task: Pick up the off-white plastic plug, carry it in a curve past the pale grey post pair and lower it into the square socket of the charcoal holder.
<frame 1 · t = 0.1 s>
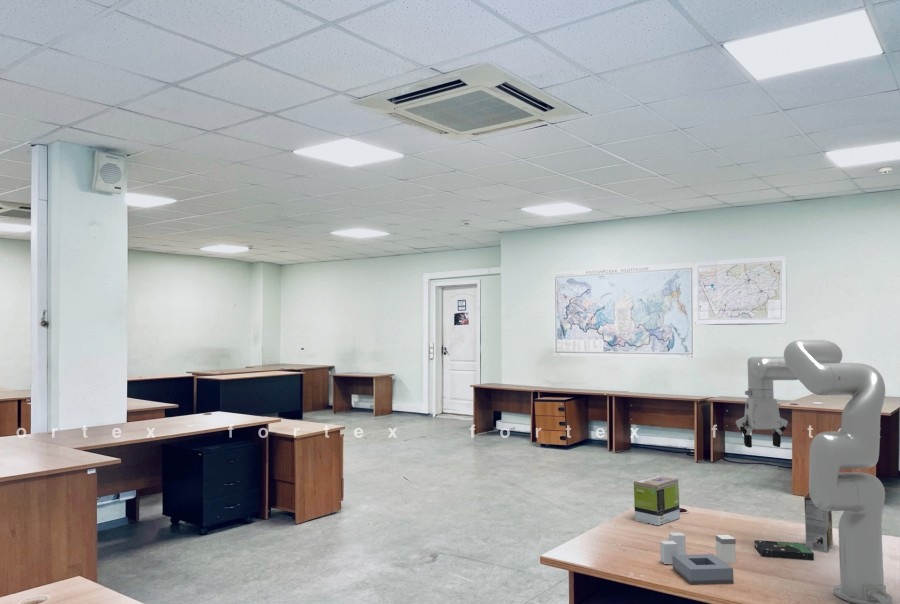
hand: (762, 446, 214), 31 cm above the table, tool pointing down, fingers open, 9 cm apart
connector: (725, 560, 196), on the table
tea box: (657, 520, 240), on the table
pale grey post pair: (673, 558, 198), on the table
holder: (702, 575, 183), on the table
disk drive: (783, 555, 202), on the table
coffee box: (819, 547, 208), on the table
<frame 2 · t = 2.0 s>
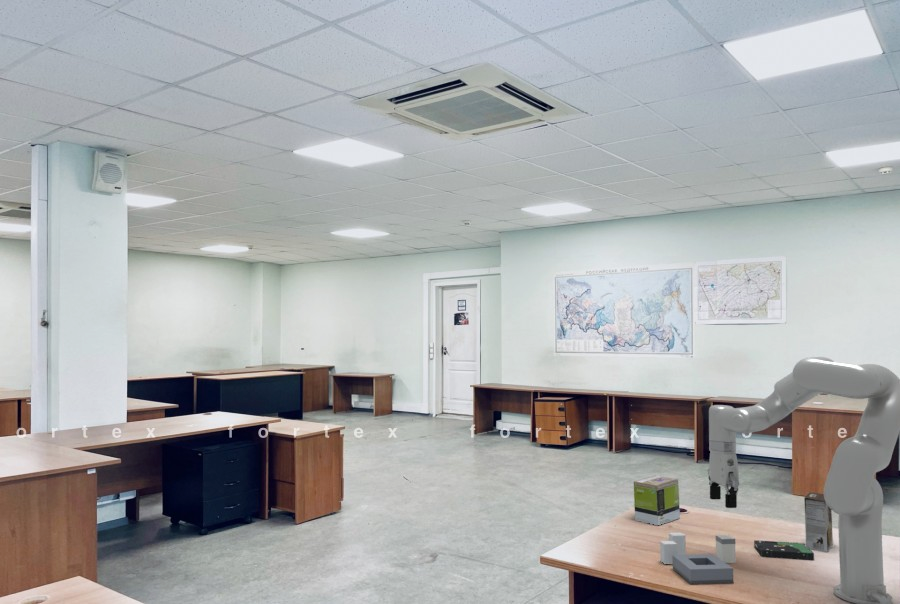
hand: (723, 503, 197), 17 cm above the table, tool pointing down, fingers open, 9 cm apart
nothing on the table moved.
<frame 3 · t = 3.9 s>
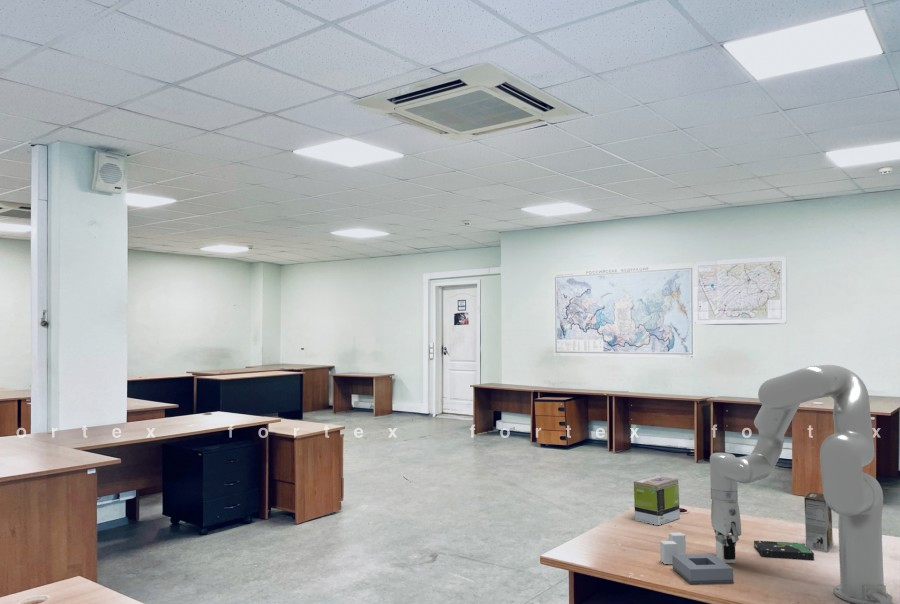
hand: (725, 555, 196), 1 cm above the table, tool pointing down, fingers closed on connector, 4 cm apart
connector: (725, 560, 196), on the table, touching gripper
everything else where it was.
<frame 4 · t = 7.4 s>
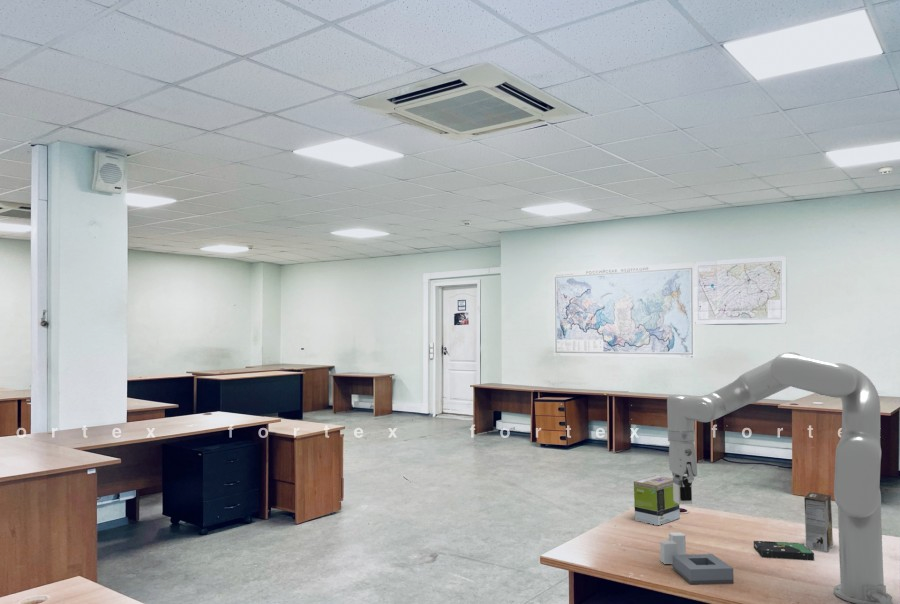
hand: (682, 497, 194), 19 cm above the table, tool pointing down, fingers closed on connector, 4 cm apart
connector: (682, 502, 194), point 18 cm above the table, touching gripper
everything else where it was.
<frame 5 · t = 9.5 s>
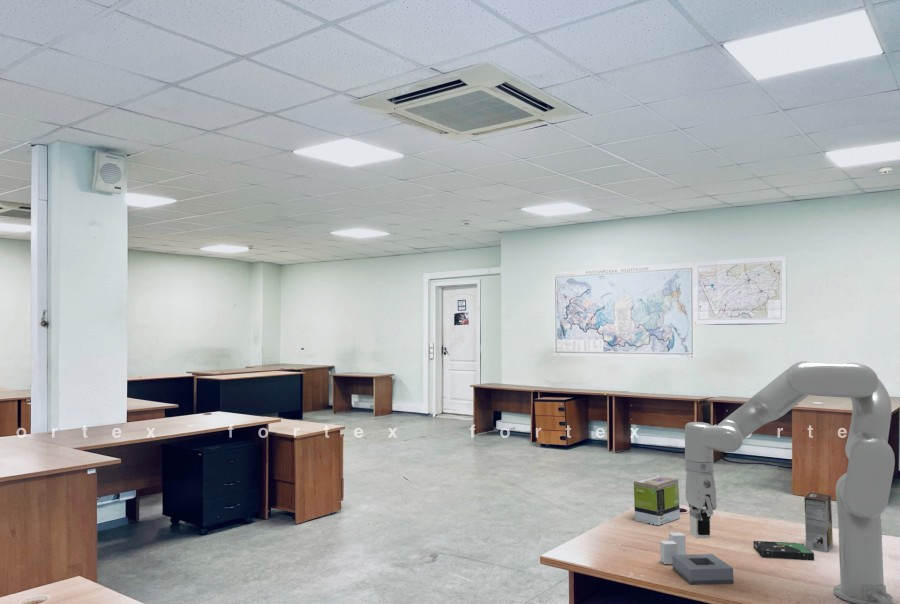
hand: (700, 531, 184), 12 cm above the table, tool pointing down, fingers closed on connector, 4 cm apart
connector: (700, 536, 184), point 11 cm above the table, touching gripper
everything else where it was.
when the fingers open (5 cm above the table, at t = 11.1 s): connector drops 2 cm, resting on holder.
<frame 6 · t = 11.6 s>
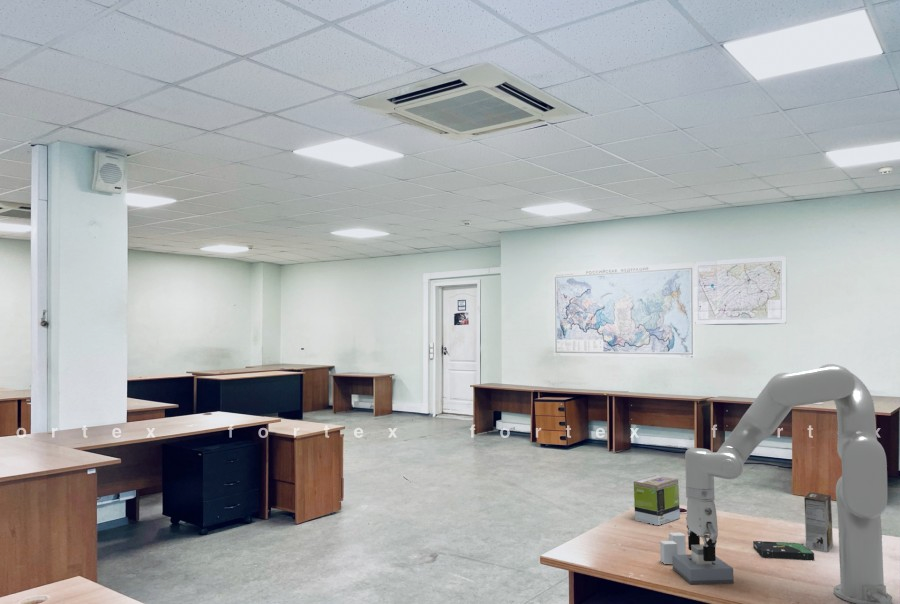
hand: (701, 555, 183), 6 cm above the table, tool pointing down, fingers open, 9 cm apart
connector: (702, 572, 183), point 1 cm above the table, touching holder
everything else where it was.
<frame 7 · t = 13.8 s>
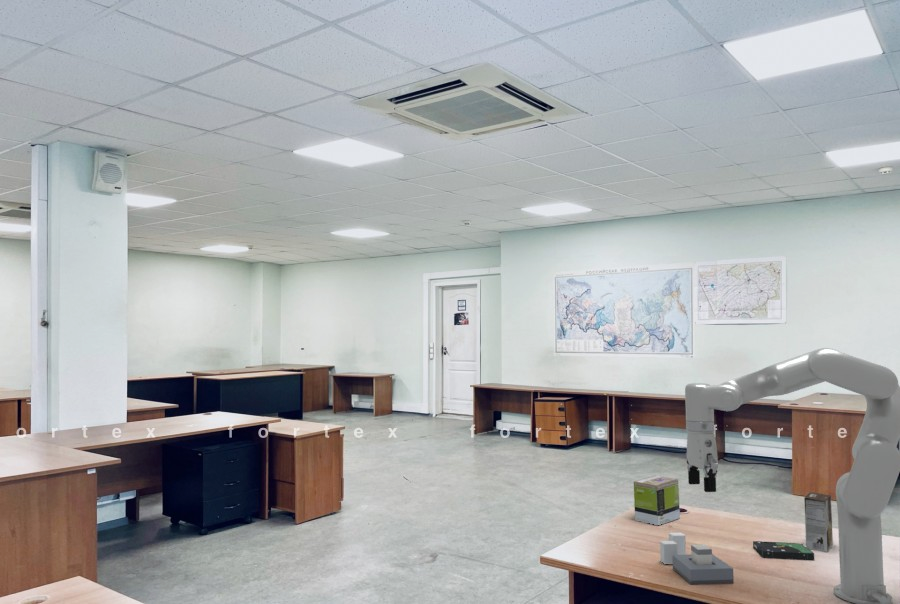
hand: (702, 487, 185), 24 cm above the table, tool pointing down, fingers open, 9 cm apart
nothing on the table moved.
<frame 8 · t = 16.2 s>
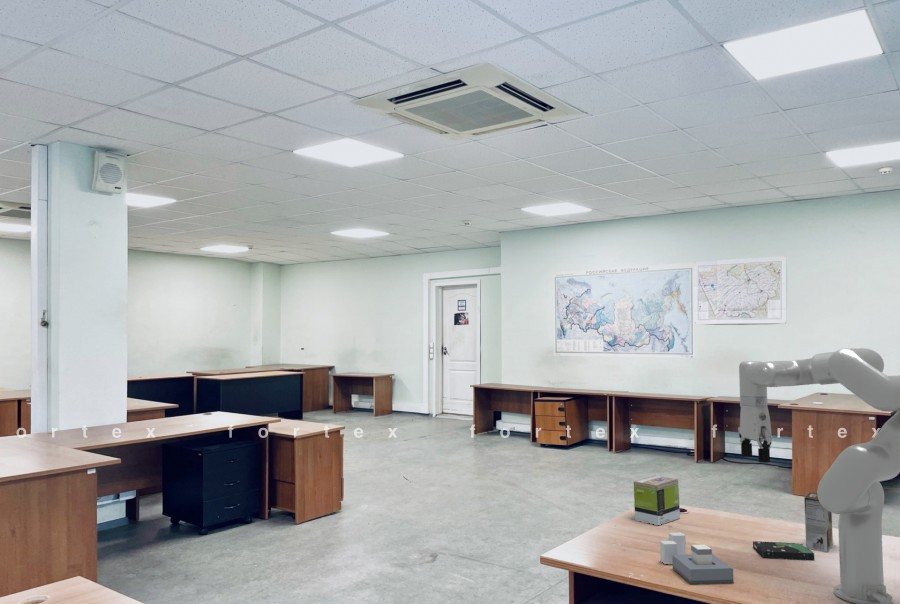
hand: (755, 459, 196), 30 cm above the table, tool pointing down, fingers open, 9 cm apart
nothing on the table moved.
at the end: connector 0.1 cm off-centre on the holder, point 1.0 cm above the holder's base; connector tilted 0°; the gripper is holding nothing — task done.
